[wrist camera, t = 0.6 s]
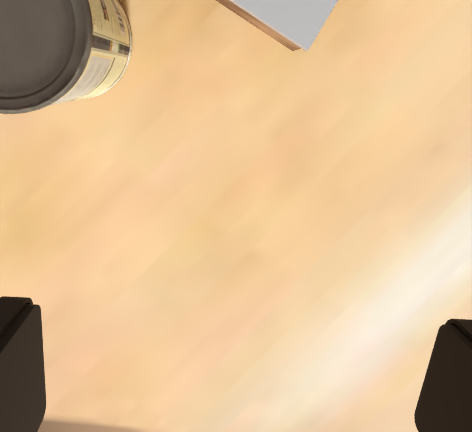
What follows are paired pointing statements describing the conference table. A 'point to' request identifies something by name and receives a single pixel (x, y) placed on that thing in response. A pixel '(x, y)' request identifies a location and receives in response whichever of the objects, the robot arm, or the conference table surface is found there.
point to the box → (259, 24)
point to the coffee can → (60, 51)
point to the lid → (291, 17)
